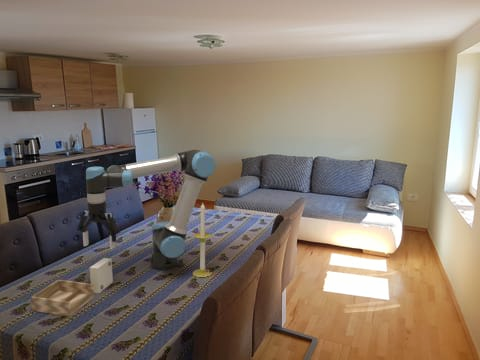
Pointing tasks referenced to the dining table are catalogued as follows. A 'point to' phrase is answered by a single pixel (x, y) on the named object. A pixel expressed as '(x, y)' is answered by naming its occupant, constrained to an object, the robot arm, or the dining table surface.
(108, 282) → the plain off-white rectangular block
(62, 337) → the dining table surface
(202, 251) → the candle
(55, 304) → the cabinet carcass
